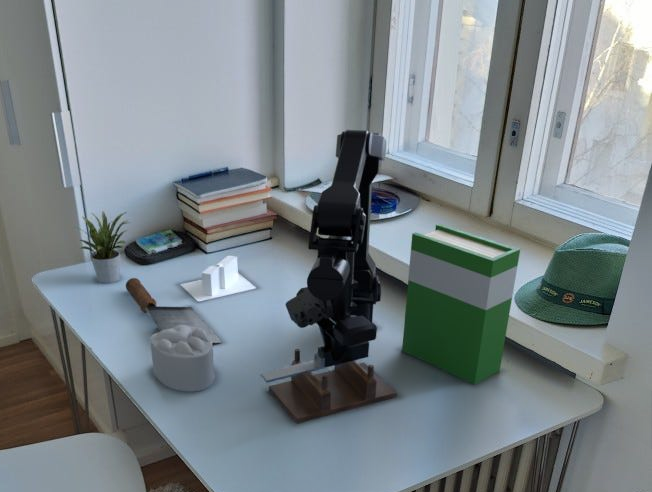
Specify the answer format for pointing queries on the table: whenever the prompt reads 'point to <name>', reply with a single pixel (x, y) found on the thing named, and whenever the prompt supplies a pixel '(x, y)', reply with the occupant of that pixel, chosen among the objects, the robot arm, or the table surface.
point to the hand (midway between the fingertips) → (333, 357)
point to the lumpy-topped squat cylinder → (183, 358)
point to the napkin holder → (218, 281)
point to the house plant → (105, 249)
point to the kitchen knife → (318, 362)
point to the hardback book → (459, 301)
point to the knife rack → (331, 390)
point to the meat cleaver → (166, 311)
